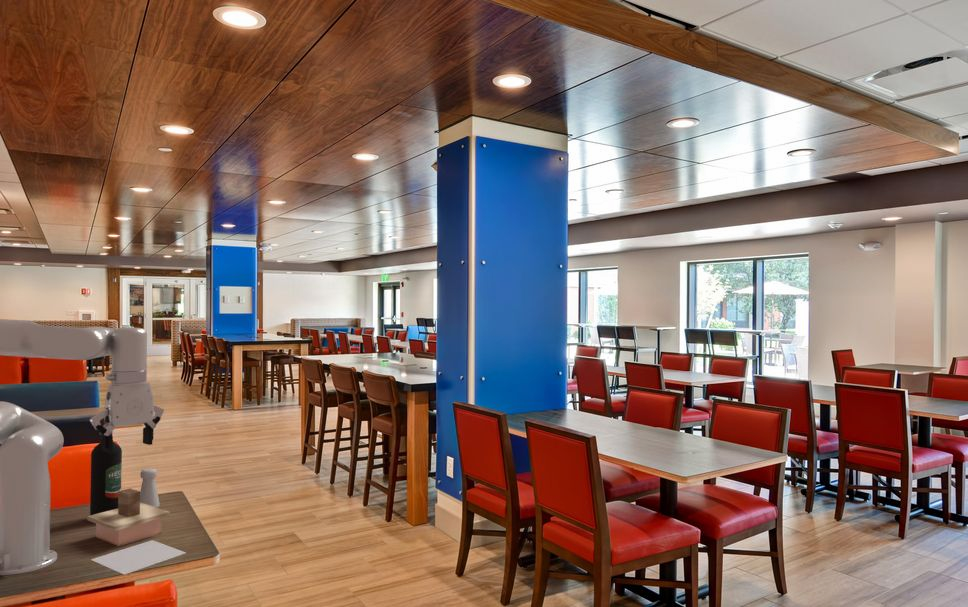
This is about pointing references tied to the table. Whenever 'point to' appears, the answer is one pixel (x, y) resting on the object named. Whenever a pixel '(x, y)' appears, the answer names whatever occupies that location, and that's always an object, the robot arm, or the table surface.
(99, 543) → the table surface
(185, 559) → the table surface
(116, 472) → the wine bottle
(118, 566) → the mat
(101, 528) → the pink open box
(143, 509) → the lid
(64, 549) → the table surface
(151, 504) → the salt shaker
